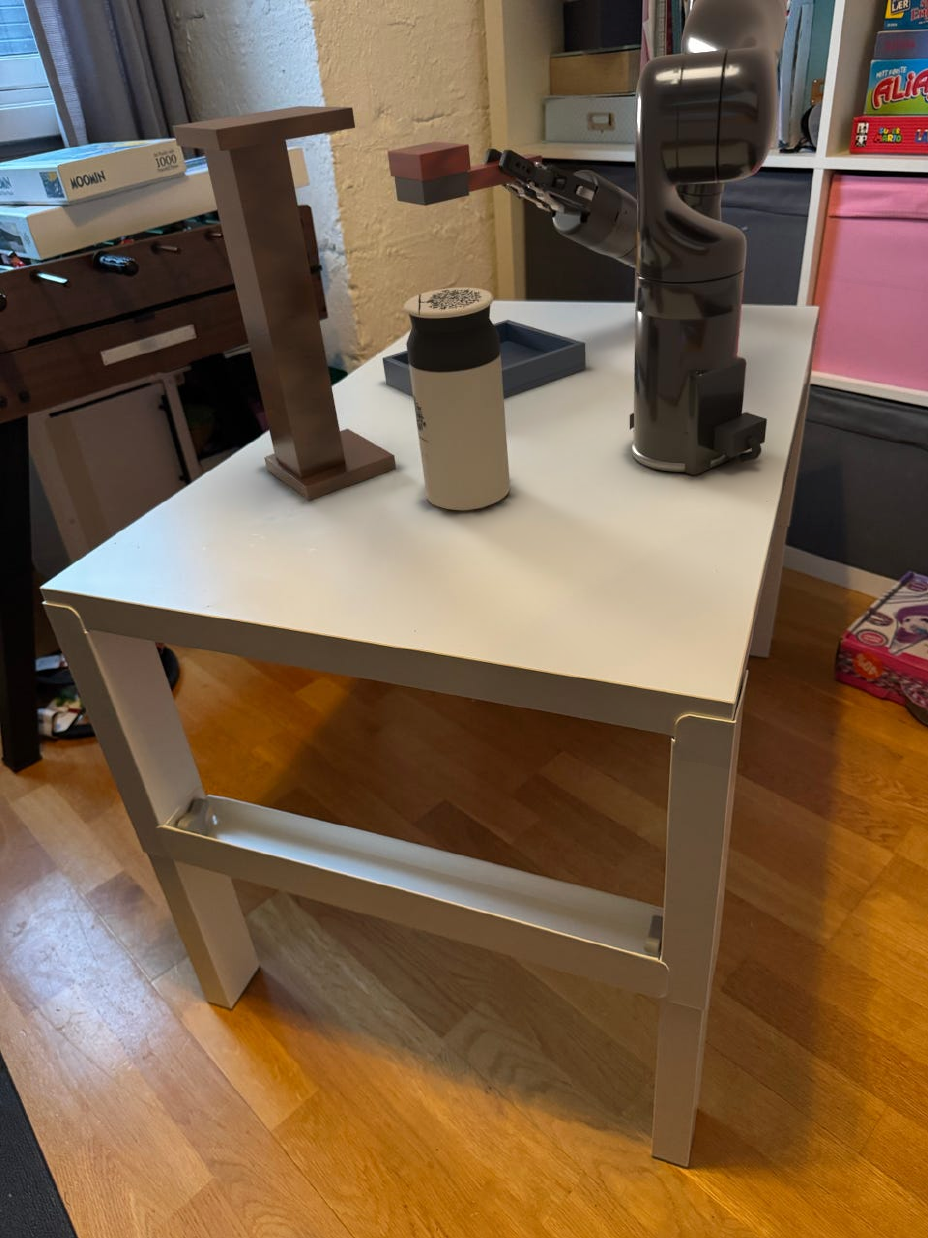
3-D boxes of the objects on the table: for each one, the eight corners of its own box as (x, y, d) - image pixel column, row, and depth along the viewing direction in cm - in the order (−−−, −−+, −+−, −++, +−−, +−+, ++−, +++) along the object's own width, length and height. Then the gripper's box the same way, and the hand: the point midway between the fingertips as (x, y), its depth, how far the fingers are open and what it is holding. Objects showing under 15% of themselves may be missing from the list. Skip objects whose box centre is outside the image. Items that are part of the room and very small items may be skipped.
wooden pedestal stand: (299, 504, 85) (215, 129, 67) (258, 472, 92) (171, 125, 74) (404, 465, 90) (352, 106, 72) (357, 438, 97) (299, 105, 79)
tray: (585, 369, 108) (585, 342, 107) (455, 415, 100) (452, 387, 98) (509, 343, 119) (507, 319, 118) (386, 383, 111) (382, 357, 109)
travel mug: (512, 473, 86) (499, 283, 76) (507, 511, 80) (491, 309, 70) (433, 476, 87) (409, 289, 77) (420, 514, 81) (393, 316, 71)
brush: (425, 206, 90) (419, 154, 87) (393, 200, 95) (387, 150, 92) (554, 176, 97) (552, 126, 94) (518, 171, 102) (516, 124, 99)
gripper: (572, 179, 111) (469, 119, 100) (652, 188, 101) (547, 122, 90) (552, 240, 113) (448, 188, 102) (627, 254, 103) (522, 199, 92)
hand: (495, 158), depth 96 cm, fingers closed on brush, 2 cm apart
